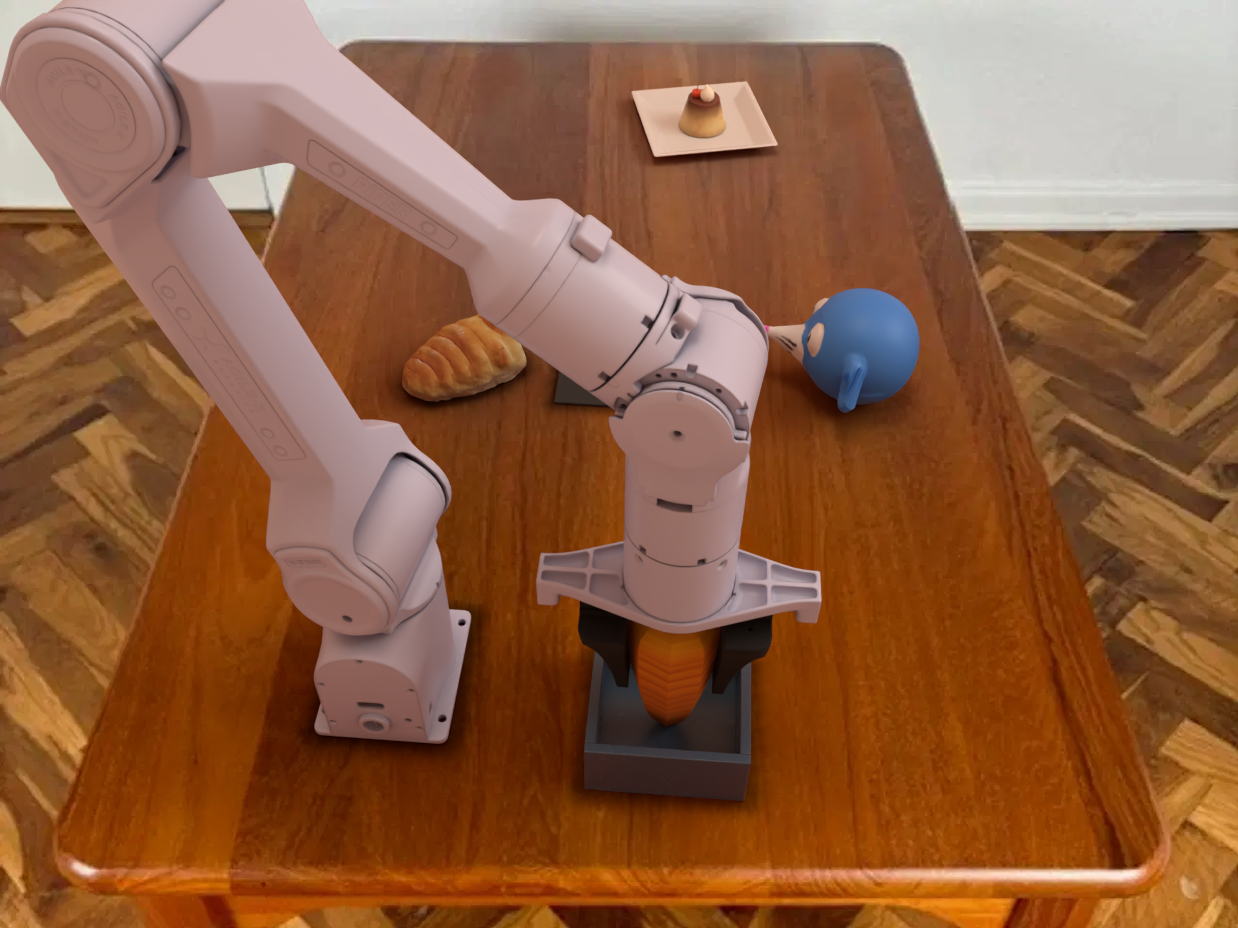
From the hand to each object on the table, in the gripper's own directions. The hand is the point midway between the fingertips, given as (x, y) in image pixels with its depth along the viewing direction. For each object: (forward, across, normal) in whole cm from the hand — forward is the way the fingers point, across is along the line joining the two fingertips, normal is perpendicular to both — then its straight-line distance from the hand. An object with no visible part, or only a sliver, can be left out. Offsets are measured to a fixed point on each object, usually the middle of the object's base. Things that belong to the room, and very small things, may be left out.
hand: (671, 675), depth 68 cm
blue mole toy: (+6, -11, -31) cm, 33 cm away
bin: (+5, 0, 0) cm, 5 cm away
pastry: (+6, +17, -30) cm, 35 cm away
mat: (+5, +5, -33) cm, 34 cm away
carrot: (+5, 0, 0) cm, 5 cm away
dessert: (+6, 0, -67) cm, 67 cm away
